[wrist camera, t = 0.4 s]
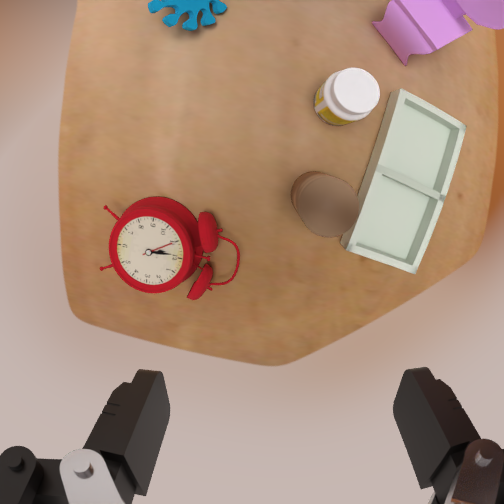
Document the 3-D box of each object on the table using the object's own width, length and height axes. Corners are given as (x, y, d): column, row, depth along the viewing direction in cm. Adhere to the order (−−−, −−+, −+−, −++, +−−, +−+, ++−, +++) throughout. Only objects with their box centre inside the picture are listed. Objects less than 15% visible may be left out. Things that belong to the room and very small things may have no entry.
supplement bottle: (362, 119, 31) (392, 111, 23) (321, 131, 31) (341, 125, 23) (347, 78, 29) (372, 58, 21) (306, 89, 30) (320, 70, 22)
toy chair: (362, 17, 27) (415, -46, 13) (411, -6, 25) (471, -59, 11) (407, 75, 29) (484, 42, 14) (452, 47, 27) (529, 16, 13)
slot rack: (390, 92, 29) (400, 88, 27) (453, 126, 30) (466, 125, 27) (339, 242, 35) (345, 250, 32) (405, 265, 35) (415, 274, 33)
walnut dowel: (299, 164, 32) (311, 168, 25) (343, 180, 33) (367, 189, 25) (284, 209, 34) (291, 226, 26) (328, 224, 34) (346, 245, 27)
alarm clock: (99, 192, 30) (233, 225, 28) (132, 187, 36) (251, 214, 33) (94, 283, 33) (214, 328, 31) (125, 267, 39) (233, 303, 37)
